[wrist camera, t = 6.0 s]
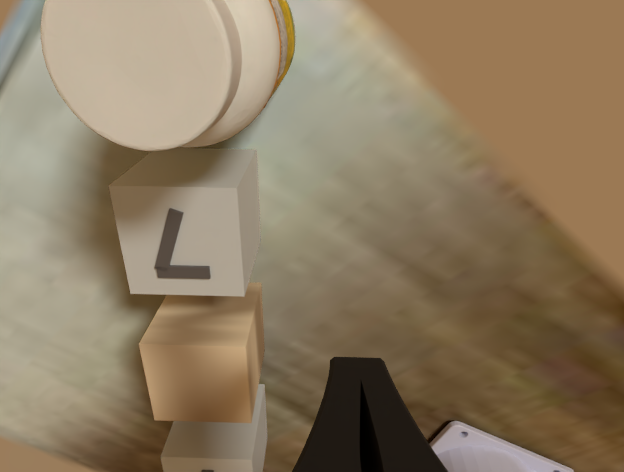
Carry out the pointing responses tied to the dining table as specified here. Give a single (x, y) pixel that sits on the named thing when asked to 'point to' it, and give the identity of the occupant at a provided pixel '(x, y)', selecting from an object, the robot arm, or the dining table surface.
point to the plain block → (205, 357)
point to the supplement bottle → (167, 66)
